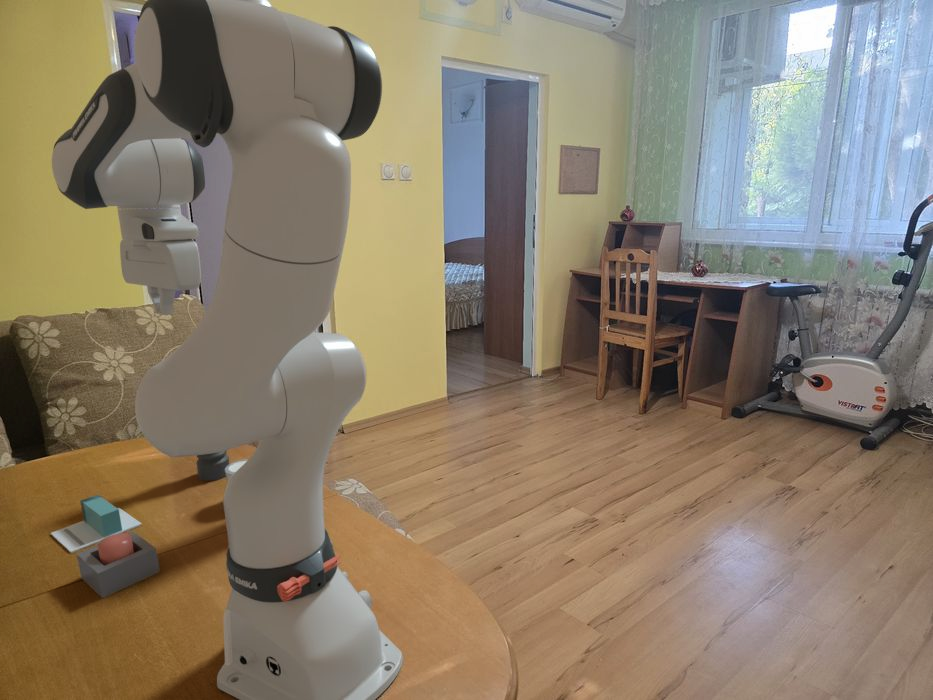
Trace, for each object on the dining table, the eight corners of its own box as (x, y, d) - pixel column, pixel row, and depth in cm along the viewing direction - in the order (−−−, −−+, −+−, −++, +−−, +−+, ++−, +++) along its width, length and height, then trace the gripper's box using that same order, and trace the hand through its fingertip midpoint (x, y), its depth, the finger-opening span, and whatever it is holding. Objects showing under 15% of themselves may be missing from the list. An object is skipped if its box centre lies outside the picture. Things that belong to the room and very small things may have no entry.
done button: (141, 568, 90) (136, 539, 89) (110, 583, 87) (104, 552, 86) (129, 558, 93) (124, 530, 92) (98, 572, 90) (92, 542, 89)
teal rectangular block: (122, 530, 102) (118, 509, 101) (104, 537, 100) (100, 516, 99) (101, 514, 108) (97, 494, 107) (84, 521, 106) (80, 500, 105)
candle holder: (216, 482, 120) (200, 363, 115) (191, 478, 122) (174, 361, 117) (236, 469, 126) (222, 355, 120) (213, 466, 128) (198, 353, 122)
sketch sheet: (141, 525, 105) (141, 523, 105) (71, 553, 96) (70, 551, 96) (119, 509, 110) (119, 507, 110) (50, 534, 102) (50, 532, 102)
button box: (159, 571, 91) (155, 548, 90) (102, 598, 85) (97, 573, 84) (136, 553, 96) (133, 531, 95) (81, 577, 90) (76, 554, 89)
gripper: (104, 228, 98) (117, 311, 101) (161, 228, 85) (174, 323, 89) (144, 226, 103) (155, 305, 106) (203, 227, 90) (214, 317, 93)
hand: (164, 314), depth 97 cm, fingers closed
